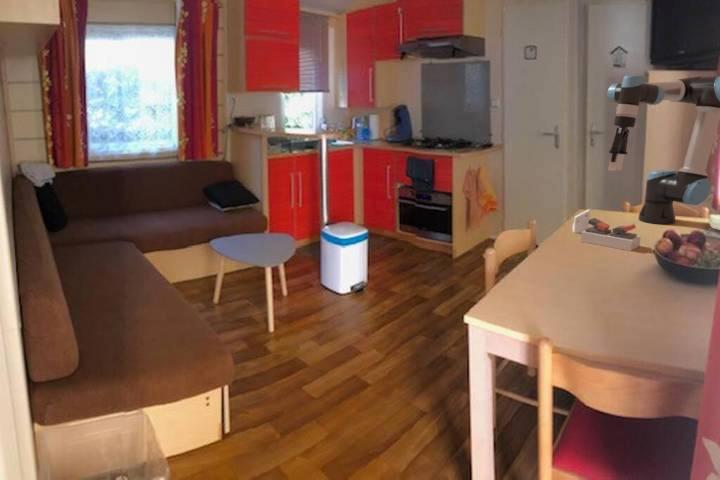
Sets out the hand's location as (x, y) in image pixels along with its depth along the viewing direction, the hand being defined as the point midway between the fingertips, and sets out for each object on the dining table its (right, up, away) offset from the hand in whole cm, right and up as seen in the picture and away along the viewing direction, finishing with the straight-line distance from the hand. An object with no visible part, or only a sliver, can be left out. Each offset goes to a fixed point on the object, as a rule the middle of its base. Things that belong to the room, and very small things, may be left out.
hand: (614, 170), depth 240 cm
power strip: (-1, -29, +2) cm, 29 cm away
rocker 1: (-5, -23, +4) cm, 24 cm away
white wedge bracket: (-6, -24, +21) cm, 33 cm away
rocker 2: (+3, -25, -3) cm, 25 cm away
